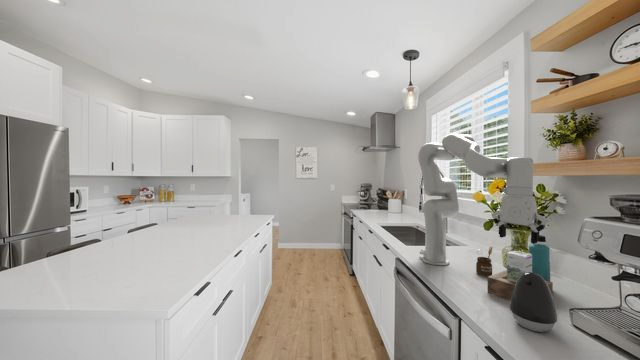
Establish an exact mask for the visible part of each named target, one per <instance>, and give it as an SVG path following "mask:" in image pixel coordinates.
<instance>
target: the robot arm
mask: <svg viewBox="0 0 640 360" xmlns="http://www.w3.org/2000/svg"><path fill="white" fill-rule="evenodd" d="M480 152H481V146H480V145H479V144H478V143H476V142H475V139H474V137H472V135H469V134H462V133H461V134H460V133H450V134H449V133H448V134H447V135H446V136H444V137H443V139H442V141H441V142H440V143H439V142H429V143H425V144H423V145H422V146H421V147H420V149H419V151H418V156H417V157H418V158H417V159H418V163H419V166H420V170H421V177H422V184H423V191H424V194H425V195H426V196H428V197H441V198H431V199H429V200H426V201H425V202H424V204H423V205H422V208H423V209H422V210H423V215H424V225H425V228H424V229H425V232H424V233H425V235H424V237H425V239H424V240H425V241H424V242H425V246H424V247H425V248H424V249H420V251H419V254H420V255H423V256H422V258H421V261H423V262H424V263H426V264H428V265H433V266H447V265H449V264H450V260H449V259H448V258H447V227H446V226H447V225H446V224H445V222H444V220H443V219H444V218H445V219H446V218H454V217H456V216H457V215H458V213H459V209H460V208H459V207H460V206H459V200H458V193H457V187H456V184H455V182H454V181H453V179H450V178H447V177H441V173H440V168H439V166H438V164H437V163H436V162H435V160H436V161H450V160H454V159H457V158H458V159H460V160H462V161H463V164H464V165H465V167H466V168H467V169H468V170H469V171H471V172H473V173H475V175H478V176H481V178H482V177H484V178H498V179H499V178H502V179H503V178H505V179H506V180H505V181H506V182H505V183H506V184H505V185H506V186H505V187H502V188H501V191H502V193H503V192H504V194H503V195H502V198H501V203H500V209H499V210H498V211H495V212H491V217H492V219H493V222H494V223H496V225H497V227H498V235H499V238H505V237H506V236H507V226H506V225H507V224H512V225H518V226H519V225H520V226H525V227H526V226H527V227H529V228H530V229H531V230H532V231H531V233H530V244H535V243H539V242H538V241H539V235H540V232H541V231H542V230H545V228H547V226H548V225H549V223H550V219H548V218H546V217H544V216H543V215H540V214H539V213H538V207H537V206H538V205H537V201H536V198H535V197H536V196H533V195H534V194H533V192H534V191H533V190H534V189H533V188H534V183H533V182H534V160H533V158H531V157H529V156H518V157H517V156H515V157H509V158H508V157H489V156H486V155H483V154H481V153H480ZM538 220H539V221H540V222H541V224H540V225H538V224H537V223H538Z"/></svg>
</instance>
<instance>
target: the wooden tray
mask: <svg viewBox="0 0 640 360" xmlns="http://www.w3.org/2000/svg"><path fill="white" fill-rule="evenodd" d="M545 282H546V283H547V285H548V287H549V289H550V291H551V294H552V297H553V292H554V291H553V287H554V285H553V284H554V282H552V281H550V282H549V281H546V280H545ZM515 285H516V282H513V281H510V280H507V269H506V270H503V271H501V272H498V273H495V274H492V275H491V276H488V277H487V294H488V295H492V296H493V297H497V298H500V299H503V300H505V301H509V302H511V297H512V293H513V290H514V287H515ZM553 298H554V297H553Z"/></svg>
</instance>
